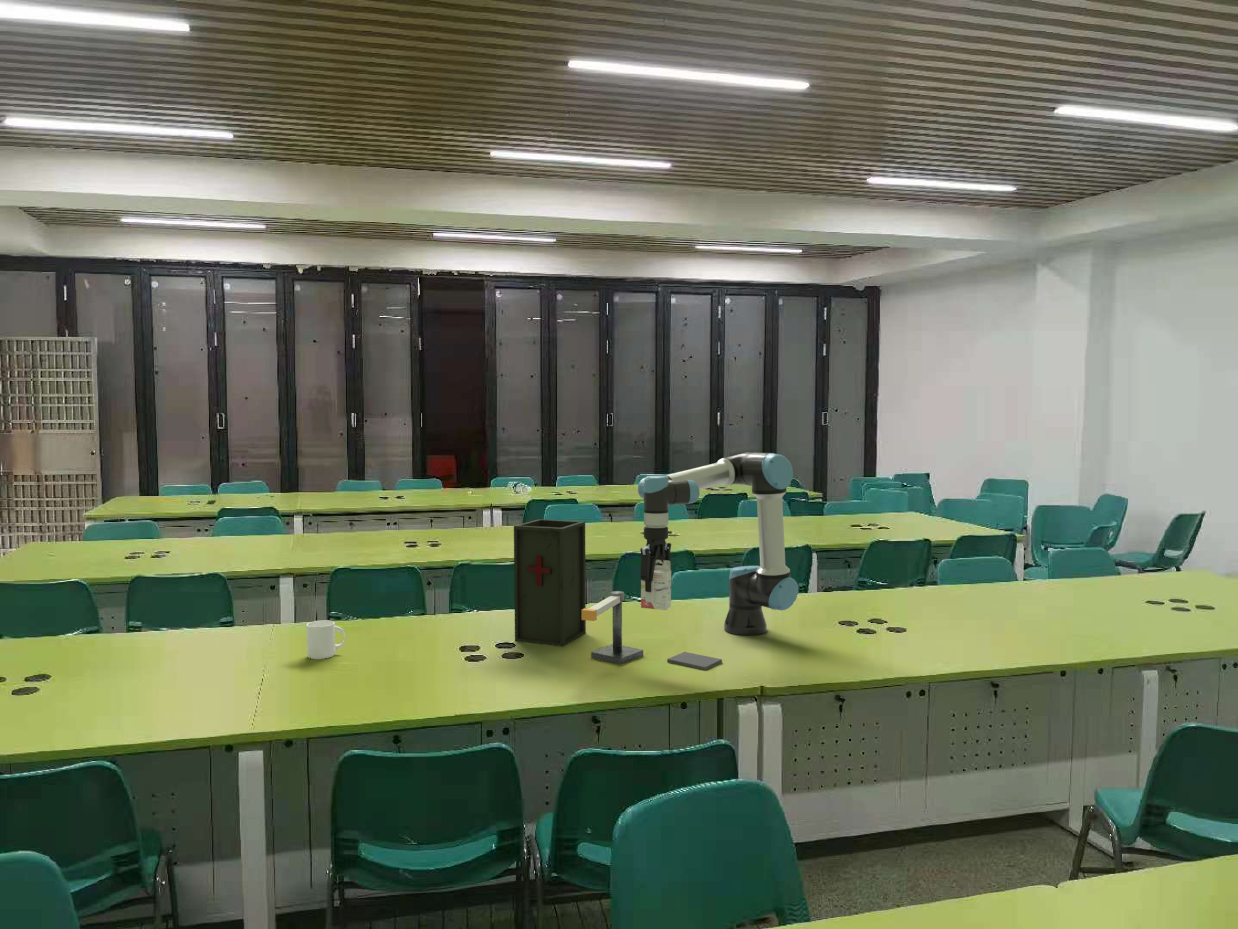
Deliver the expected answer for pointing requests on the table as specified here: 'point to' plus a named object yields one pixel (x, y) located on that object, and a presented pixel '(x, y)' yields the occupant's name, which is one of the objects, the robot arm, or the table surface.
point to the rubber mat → (694, 660)
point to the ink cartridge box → (659, 587)
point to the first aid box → (549, 581)
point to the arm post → (617, 644)
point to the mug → (322, 639)
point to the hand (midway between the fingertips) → (656, 599)
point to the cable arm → (602, 606)
